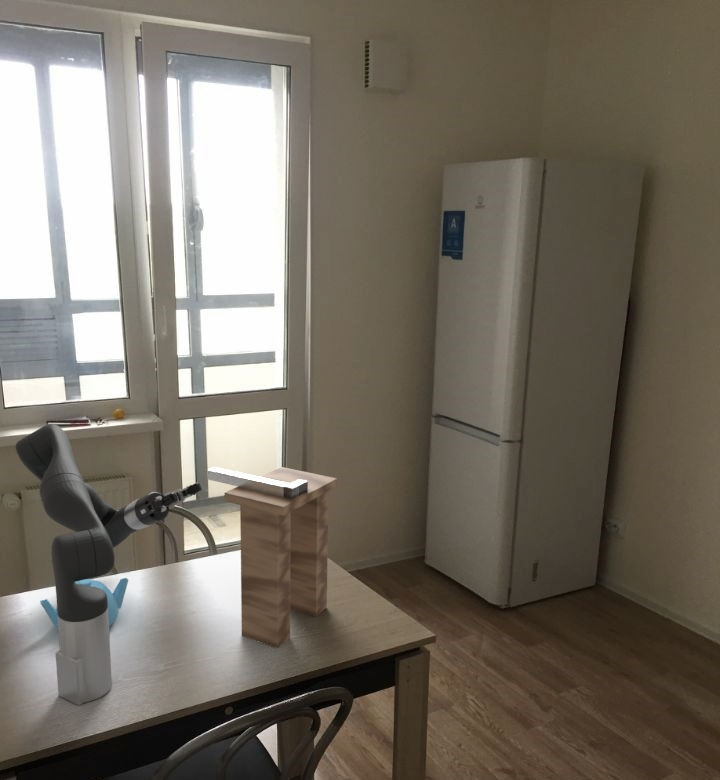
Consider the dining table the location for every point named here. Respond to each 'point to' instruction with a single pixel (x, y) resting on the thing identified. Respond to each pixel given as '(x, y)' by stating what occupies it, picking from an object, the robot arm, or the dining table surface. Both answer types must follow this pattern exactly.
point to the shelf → (282, 554)
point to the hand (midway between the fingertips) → (187, 491)
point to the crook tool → (258, 483)
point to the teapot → (113, 598)
